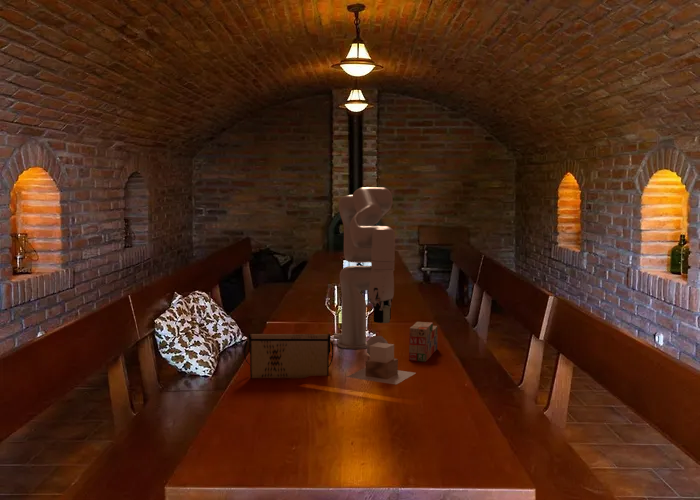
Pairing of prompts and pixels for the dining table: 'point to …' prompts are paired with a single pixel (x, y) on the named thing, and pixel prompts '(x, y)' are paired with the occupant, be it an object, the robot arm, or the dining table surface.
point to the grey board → (393, 380)
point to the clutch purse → (289, 355)
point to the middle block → (382, 352)
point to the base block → (381, 369)
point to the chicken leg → (374, 340)
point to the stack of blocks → (422, 341)
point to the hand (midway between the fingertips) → (382, 320)
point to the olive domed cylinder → (386, 314)
